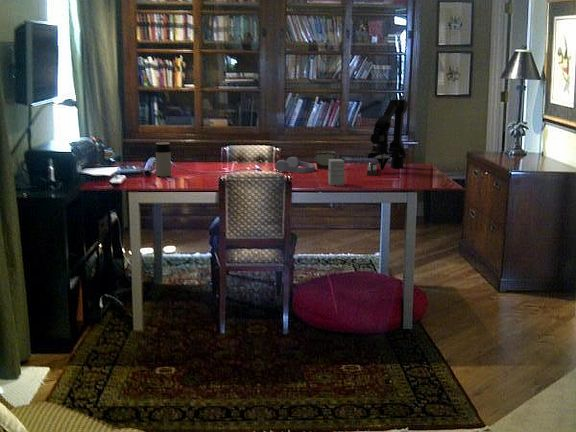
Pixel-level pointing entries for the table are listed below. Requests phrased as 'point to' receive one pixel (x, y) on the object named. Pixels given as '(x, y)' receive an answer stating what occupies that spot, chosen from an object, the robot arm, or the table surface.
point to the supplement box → (336, 172)
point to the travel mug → (163, 159)
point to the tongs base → (370, 166)
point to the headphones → (294, 165)
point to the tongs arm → (374, 170)
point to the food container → (324, 158)
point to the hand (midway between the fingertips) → (381, 170)
